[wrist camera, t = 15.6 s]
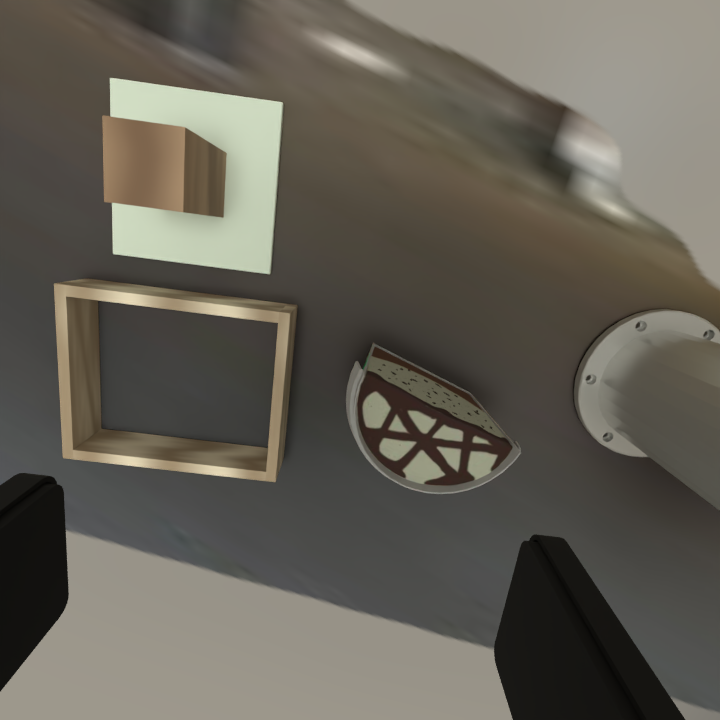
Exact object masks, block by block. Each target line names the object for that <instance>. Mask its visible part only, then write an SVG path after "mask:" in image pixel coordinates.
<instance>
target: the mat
mask: <svg viewBox="0 0 720 720" xmlns="http://www.w3.org/2000/svg"><path fill="white" fill-rule="evenodd" d="M283 107H284V104H283V102H276V101H269V100H262V99H255V98H248V97H241V96H234V95H227V94H220V93H213V92H206V91H199V90H192V89H185V88H178V87H171V86H164V85H157V84H150V83H143V82H136V81H129V80H122V79H115V78H110V109H111V117H117V118H124V119H131V120H139V121H146V122H153V123H160V124H167V125H174V126H181V127H186V128H187V129H189V130H191V131H192V132H194V133H195V134H197V135H199V136H200V137H202V138H203V139H205V140H207V141H208V142H210V143H211V144H213V145H215V146H216V147H218V148H219V149H221V150H223V151H224V152H226V153H227V156H226V177H225V198H224V218H222V217H214V216H207V215H199V214H192V213H185V212H177V211H170V210H162V209H155V208H148V207H140V206H133V205H125V204H118V203H112V225H113V254H118V255H125V256H133V257H141V258H148V259H156V260H164V261H172V262H179V263H187V264H195V265H203V266H210V267H218V268H226V269H233V270H241V271H249V272H257V273H264V274H271V268H272V254H273V241H274V228H275V214H276V201H277V188H278V174H279V161H280V147H281V134H282V121H283Z"/></svg>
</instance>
